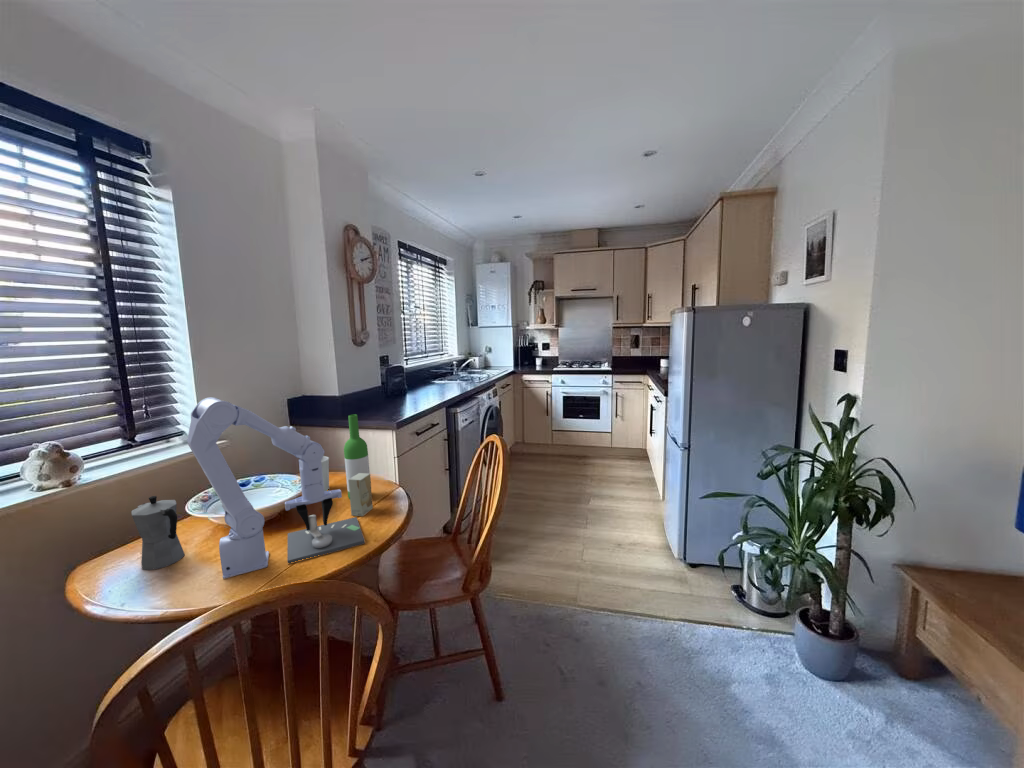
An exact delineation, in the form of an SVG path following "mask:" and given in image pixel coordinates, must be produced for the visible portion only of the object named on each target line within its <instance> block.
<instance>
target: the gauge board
mask: <svg viewBox="0 0 1024 768" xmlns="http://www.w3.org/2000/svg"><path fill="white" fill-rule="evenodd" d="M317 530H318V531H319V532H320V533H321V534H322V535H325V534H328V535H331V536H332V543H331V544H330V545H328V546H326V547H323V548H314V547H313V546H312V540H313V539H314V536H313V535H312V534H311V533H310V532H309V530H307V529H306V528H305V529H300V530H296V531H292V532H288V533H287V552H286V553H287V556H286V558H287V564H288V563H291V562H295V561H298V560H302V559H306V558H310V557H313V558H315V557H314V556H317V557H319V556H318V555H321V556H324V555H327V553H328V554H330V553H332V554H333V553H335V552H339V551H342V550H346V549H350V548H353V547H357V546H360V545H364V544H366V540H365V537H364V534H363V531H362V528H361V526H360V524H359V521H358V516H355V517H351V518H346V519H342V520H337V521H334V522H329V523H327V525H326V526H324V524H320V525H317ZM323 554H324V555H323ZM310 559H311V558H310ZM306 560H307V559H306ZM302 561H303V560H302ZM298 562H299V561H298ZM295 563H296V562H295ZM291 564H292V563H291Z"/></svg>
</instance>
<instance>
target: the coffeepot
mask: <svg viewBox="0 0 1024 768" xmlns="http://www.w3.org/2000/svg"><path fill="white" fill-rule="evenodd" d="M148 500H149V502H145V503H142V504H140V505H137V508H134V509H132V510H131V518H132V520H133V522H134V525H135V526H136V529H137V532H138V535H139V536H140V538H141V540H142V542H141V559H140V560H141V563H140V565H141V570H145V571H154V570H159V569H162V568H166V567H168V566H171V565H174V564H175V563H178V562H179V561H180V560H181V559H182V558H183V557H184V556H185V552H184V548H183V547H182V544H181V542H180V539H179V536H178V533H177V530H178V529H177V524H178V514H177V501H176V500H175V499H161V500H157V495H151V496H149V497H148Z"/></svg>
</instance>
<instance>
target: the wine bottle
mask: <svg viewBox="0 0 1024 768" xmlns="http://www.w3.org/2000/svg"><path fill="white" fill-rule="evenodd" d="M358 419H359V418H358V414H356V413H355V414H354V413H353V414H349V415H348V419H347V420H348V427H349V429H348V430H349V431H348V432H349V439H347V441H346V442H345V443H344V446H343V456H344V466H345V478H346V489H347V497H348V500H350V491H349V479H350V478H352V477H353V476H355V475H357V474H358V473H367V474H370V475H371V472H370V463H369V462H370V461H369V452H368V451H369V450H368V444H367V442H366V441H365V439H363V438H362V437H360V430H359V429H360V428H359V420H358Z"/></svg>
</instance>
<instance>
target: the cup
mask: <svg viewBox="0 0 1024 768" xmlns="http://www.w3.org/2000/svg"><path fill="white" fill-rule="evenodd" d="M329 462H330V457H329V456H325V455H324V456H323V458H322V459H321V463H322V472H323V483H324V491H327V490H328V489H329V490H330V471H329V469H330V467H329V466H330V463H329ZM329 490H328V491H329Z"/></svg>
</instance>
